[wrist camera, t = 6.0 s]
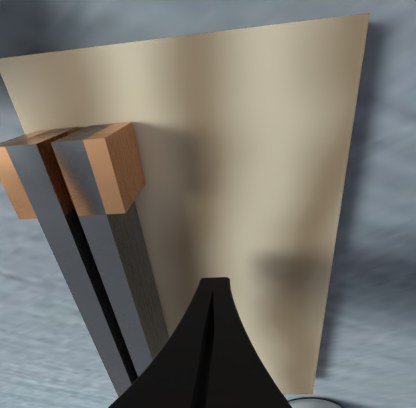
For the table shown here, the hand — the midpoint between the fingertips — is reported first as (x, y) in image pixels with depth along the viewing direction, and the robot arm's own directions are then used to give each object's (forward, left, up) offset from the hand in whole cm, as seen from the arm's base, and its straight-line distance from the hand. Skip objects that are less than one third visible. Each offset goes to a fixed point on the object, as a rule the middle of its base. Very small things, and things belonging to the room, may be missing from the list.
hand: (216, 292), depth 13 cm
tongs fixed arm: (+6, +3, -3) cm, 7 cm away
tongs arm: (+4, +1, -3) cm, 5 cm away
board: (+1, +2, -4) cm, 5 cm away
